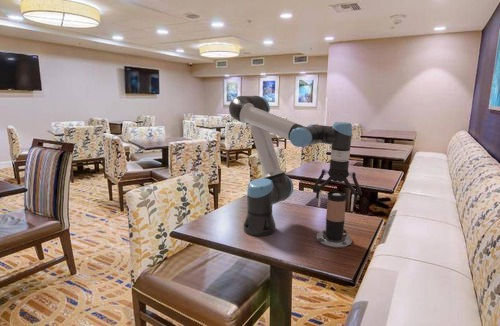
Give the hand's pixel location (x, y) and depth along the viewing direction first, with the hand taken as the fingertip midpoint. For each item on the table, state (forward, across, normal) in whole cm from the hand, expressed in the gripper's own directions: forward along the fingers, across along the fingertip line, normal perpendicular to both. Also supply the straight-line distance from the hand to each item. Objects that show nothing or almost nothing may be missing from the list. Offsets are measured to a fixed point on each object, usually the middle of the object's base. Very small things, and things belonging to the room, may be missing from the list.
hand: (335, 207), depth 136 cm
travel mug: (+14, +1, 0) cm, 14 cm away
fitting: (+15, +1, +3) cm, 15 cm away
